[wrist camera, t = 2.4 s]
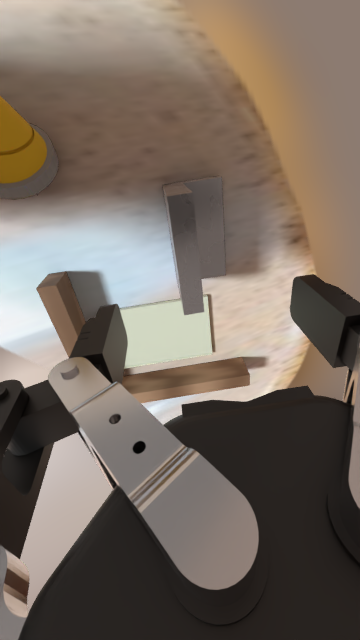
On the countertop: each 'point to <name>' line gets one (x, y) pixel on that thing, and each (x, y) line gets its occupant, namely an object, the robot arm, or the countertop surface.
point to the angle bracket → (196, 236)
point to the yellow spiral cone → (23, 156)
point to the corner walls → (144, 385)
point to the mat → (165, 333)
